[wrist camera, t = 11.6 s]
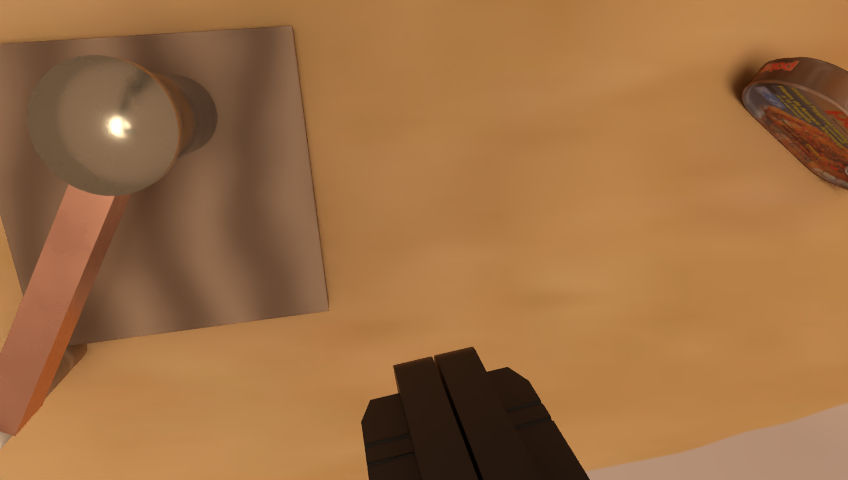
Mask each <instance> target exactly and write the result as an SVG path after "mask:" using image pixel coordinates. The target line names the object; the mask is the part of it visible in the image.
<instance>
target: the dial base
mask: <svg viewBox="0 0 848 480" xmlns="http://www.w3.org/2000/svg"><path fill="white" fill-rule="evenodd" d="M85 55H103V56H109V57H116V58H121V59H124V60H128V61H131V62H133V63H135V64H138V65H140V66H141V67H143V68H145V69H147V70H148V71H149V72H152V73H162V74H172V75H180V76H184V77H188V78H190V79H192V80H194V81H196V82H197V83H199V84H200V85H201V86H203V87H204V88H205V89H206V91H207V92H208V93H209V94H210V96H211V97H212V99H213V101H214V104H215V107H216V111H217V125H216V129H215V132H214V134H213V136H212V137H211V139H210V140H209V141H208V142H207V143H206V144H205V145H204V146H203V147H201V148H200V149H198V150H196V151H194V152H192V153H190V154H188V155H185V156H183V157H181V158H179V159H177V160H176V161H175V163H174V165H173V166H172V168H171V169H170V170H169V171H168V172H167V173H166V174H165V175H164V176H163V177H162V178H161V179H159V180H158V181H157V182H155V183H153V184H151V185H150V186H148V187H146V188H144V189H142V190H140V191H137V192H135V193H131V195H130V198H129V200H128V202H127V205H126V207H125V210H124V212H123V214H122V217H121V219H120V222H119V224H118V226H117V229H116V231H115V233H114V236H113V238H112V241H111V243H110V245H109V248H108V250H107V252H106V255H105V257H104V260H103V262H102V264H101V267H100V269H99V271H98V274H97V276H96V279H95V281H94V283H93V286H92V288H91V291H90V293H89V295H88V298H87V300H86V302H85V305H84V307H83V310H82V312H81V314H80V317H79V319H78V321H77V324H76V326H75V329H74V331H73V333H72V336H71V338H70V340H69V343H68V345H67V348H66V350H65V352H64V355H63V357H62V360H61V362H60V364H59V367H58V369H57V371H56V374H55V376H54V379H53V381H52V383H51V386H50V388H49V390H48V393H47V395H46V397H47V396H48V395H49V394H50V393H51V392H52V391H53V390H54V388H55V387H56V386H57V385H58V384H59V383H60V382H61V381H62V379H63V378H64V377H65V376H66V375H67V374H68V373H69V372H70V371H71V369H72V368H73V367H74V366H75V365H76V364H77V363H78V362H79V360H80V359H81V358H82V357H83V356H84V355H85V353H86V350H87V346H86V343H94V342H101V341H109V340H116V339H123V338H131V337H138V336H146V335H153V334H160V333H168V332H175V331H183V330H190V329H198V328H205V327H212V326H220V325H227V324H235V323H242V322H250V321H257V320H264V319H272V318H279V317H287V316H294V315H301V314H309V313H316V312H324V311H329V304H328V296H327V288H326V281H325V273H324V265H323V257H322V250H321V242H320V234H319V226H318V219H317V211H316V203H315V196H314V188H313V180H312V172H311V165H310V157H309V149H308V141H307V134H306V126H305V118H304V111H303V103H302V95H301V87H300V80H299V72H298V64H297V56H296V49H295V41H294V33H293V27H292V26H279V27H263V28H247V29H231V30H215V31H199V32H183V33H167V34H151V35H135V36H120V37H104V38H88V39H72V40H56V41H40V42H24V43H8V44H0V215H1V218H2V222H3V226H4V229H5V233H6V236H7V240H8V243H9V247H10V250H11V254H12V258H13V261H14V265H15V268H16V272H17V275H18V279H19V282H20V286H21V290H22V293H23V297H24V294H25V292H26V289H27V287H28V284H29V282H30V279H31V277H32V274H33V272H34V269H35V267H36V264H37V262H38V259H39V257H40V254H41V252H42V249H43V247H44V244H45V242H46V239H47V237H48V234H49V232H50V229H51V227H52V224H53V222H54V219H55V217H56V214H57V212H58V209H59V207H60V204H61V202H62V199H63V197H64V194H65V192H66V189H67V187H68V185H69V184H68V183H66V182H65V181H63V180H61V179H60V178H59V177H58V176H56V175H55V174H54V173H53V172H52V171H51V170H50V169H49V168H48V167H47V166H46V165H45V163H44V162H43V161H42V160H41V158H40V157H39V155H38V153H37V152H36V150H35V148H34V145H33V143H32V141H31V137H30V134H29V129H28V123H27V112H28V104H29V101H30V97H31V94H32V92H33V90H34V88H35V86H36V85H37V83H38V82H39V80H40V79H41V78H42V77H43V76H44V74H45V73H46V72H48V71H49V70H50V69H51V68H53V67H54V66H56V65H57V64H59V63H61V62H63V61H65V60H68V59H70V58H74V57H78V56H85ZM45 399H46V398H45ZM11 437H12V435H10V434H6V433H3V432H0V449H1V448H2V447H3V446H4V444H5V443H6V442H7V441H8V440H9V439H10V438H11Z"/></svg>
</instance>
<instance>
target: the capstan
mask: <svg viewBox="0 0 848 480" xmlns="http://www.w3.org/2000/svg"><path fill="white" fill-rule="evenodd" d="M27 123H28V129H29V134H30V137H31V141H32V143H33V145H34V148H35V150H36V152H37V153H38V155H39V157H40V158H41V160H42V161H43V162H44V163H45V165H46V166H47V167H48V168H49V169H50V170H51V171H52V172H53V173H54V174H55V175H56V176H58V177H59V178H60V179H61V180H63V181H65V182H66V183H68V184H69V185H68V187H67V189H66V192H65V194H64V197H63V199H62V202H61V204H60V207H59V209H58V212H57V214H56V217H55V219H54V222H53V224H52V227H51V229H50V232H49V234H48V237H47V239H46V242H45V244H44V247H43V249H42V252H41V254H40V257H39V259H38V262H37V264H36V267H35V269H34V272H33V274H32V277H31V279H30V282H29V284H28V287H27V289H26V292H25V294H24V297H23V299H22V302H21V304H20V307H19V309H18V312H17V314H16V317H15V319H14V322H13V324H12V327H11V329H10V332H9V334H8V337H7V339H6V342H5V344H4V347H3V349H2V352H1V354H0V432H3V433H6V434H10V435H13V436H16V434H17V433H18V432H19V431H20V430H21V429H22V428H23V427H24V425H25V424H26V423H27V422H28V421H29V420H30V419H31V417H32V416H33V415H34V414H35V413H36V412H37V411H38V410H39V408H40V407H41V406H42V405H43V402H44V400H45V398H46V395H47V393H48V390H49V388H50V386H51V383H52V381H53V379H54V376H55V374H56V371H57V369H58V367H59V364H60V362H61V360H62V357H63V355H64V352H65V350H66V348H67V345H68V343H69V340H70V338H71V336H72V333H73V331H74V329H75V326H76V324H77V321H78V319H79V317H80V314H81V312H82V310H83V307H84V305H85V302H86V300H87V298H88V295H89V293H90V291H91V288H92V286H93V283H94V281H95V279H96V276H97V274H98V271H99V269H100V267H101V264H102V262H103V260H104V257H105V255H106V252H107V250H108V248H109V245H110V243H111V241H112V238H113V236H114V233H115V231H116V229H117V226H118V224H119V222H120V219H121V217H122V214H123V212H124V210H125V207H126V205H127V202H128V200H129V198H130V195H131V193H135V192H137V191H140V190H142V189H144V188H146V187H148V186H150V185H151V184H153V183H155V182H157V181H158V180H159V179H161V178H162V177H163V176H164V175H165V174H166V173H167V172H168V171H169V170H170V169H171V168H172V166H173V165H174V163H175V161H176V160H177V159H179V158H181V157H183V156H185V155H188V154H190V153H192V152H194V151H196V150H198V149H200V148H201V147H203V146H204V145H205V144H206V143H207V142H208V141H209V140H210V139H211V137H212V136H213V134H214V132H215V129H216V125H217V111H216V107H215V104H214V101H213V99H212V97H211V96H210V94H209V93H208V92H207V91H206V89H205V88H204V87H203V86H201V85H200V84H199V83H197V82H196V81H194V80H192V79H190V78H188V77H184V76H180V75H172V74H162V73H152V72H149V71H148V70H147V69H145V68H143V67H141V66H140V65H138V64H135V63H133V62H131V61H128V60H124V59H121V58H116V57H109V56H103V55H85V56H78V57H74V58H70V59H68V60H65V61H63V62H61V63H59V64H57V65H56V66H54V67H53V68H51V69H50V70H49V71H48V72H46V73H45V74H44V76H43V77H42V78H41V79H40V80H39V82H38V83H37V85H36V86H35V88H34V90H33V92H32V94H31V97H30V101H29V104H28V112H27Z"/></svg>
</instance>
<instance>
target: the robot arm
mask: <svg viewBox="0 0 848 480" xmlns="http://www.w3.org/2000/svg"><path fill="white" fill-rule="evenodd" d="M434 362H435V363H434ZM393 368H394V373H395V379H396V384H397V389H398V394H393V395H389V396H385V397H381V398H377V399H373V400H370V402H369V405H368V407H367V409H366V412H365V414H364V416H363V419H362V421H361V424H362V431H363V439H364V445H365V453H366V461H367V467H368V476H369V480H590V479H589V478H588V476H587V474H586V473H585V471H584V469H583V468H582V466H581V465H580V463H579V461H578V460H577V458H576V456H575V455H574V453H573V452H572V450H571V448H570V447H569V445H568V444H567V442H566V440H565V439H564V437H563V435H562V434H561V432H560V431H559V429H558V427H557V426H556V424H555V423H554V421H552V420H551V416H550V414H549V413H548V411H547V410H546V408H545V406H544V405H543V404H542V403H541V400H540V398H539V397H538V395H537V393H536V392H535V390H534V389H533V387H532V385H531V384H530V382H529V381H528V380H527V379H525V378H524V377H522V376H521V375H519V374H518V373H516V372H515V371H513V370H511V369H510V368H508V367H505V368H501V369H497V370H493V371H488V372H486V370H485V368H484V366H483V364H482V362H481V360H480V358H479V356H478V354H477V352H476V350H475V349H474V347H469V348H465V349H460V350H456V351H452V352H448V353H443V354H439V355H435V356H434V360H433V358H432V356H431V357H427V358H423V359H418V360H414V361H410V362H406V363H401V364H397V365H393Z"/></svg>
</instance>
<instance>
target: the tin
mask: <svg viewBox="0 0 848 480" xmlns="http://www.w3.org/2000/svg"><path fill="white" fill-rule="evenodd" d="M742 101H743V104H744V106H745V108H746V109H747V111H748V112H749V113H750V114H751V115H752V116H753V117H754V118H755V119H756V120H757V121H758V122H759V123H760V124H761V125H762V126H763V127H764V128H765V129H767V130H768V131H769V132H770V133H771V134H772V135H773V136H774V137H775V138H776V139H777V140H778V141H780V142H781V143H782V144H783V145H784V146H785V147H786V148H787V149H788V150H789V151H790V152H791V153H792V154H793V155H794V156H795V157H796V158H798V159H799V160H800V161H801V162H802V163H803V164H804V165H805V166H806V167H807V168H808V169H810V170H811V171H812V172H813V173H815V174H816V175H818V176H820V177H821V178H823V179H825V180H826V181H828V182H830V183H832V184H834V185H836V186H839V187H841V188H843V189H846V190H848V71H846V70H844V69H842V68H840V67H838V66H836V65H833V64H831V63H828V62H825V61H822V60H818V59H813V58H808V57H797V58H782V59H776V60H773V61H769V62H767V63H766V64H765V65H764V66H763V67H762V68H761V69H760V70H759V72H758V73H757V74H756V76H755V77H754V78H753V80H752V81H751V82H750V84H749V85H747V86H746V87H745V88H744V90H743V92H742Z"/></svg>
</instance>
